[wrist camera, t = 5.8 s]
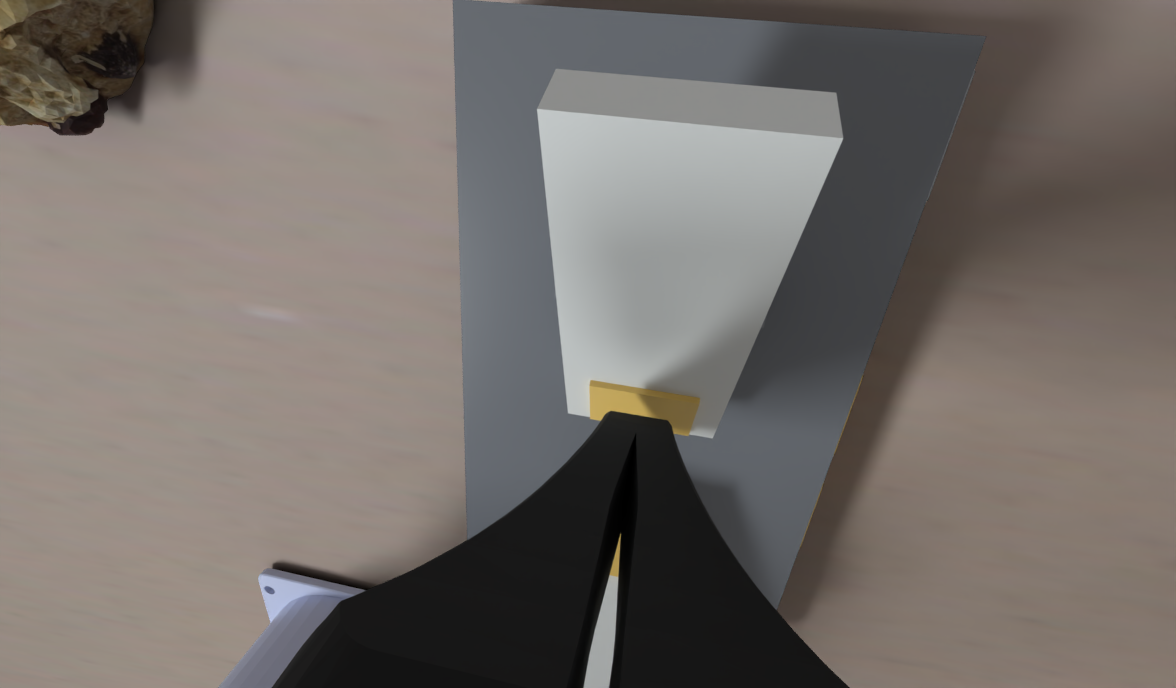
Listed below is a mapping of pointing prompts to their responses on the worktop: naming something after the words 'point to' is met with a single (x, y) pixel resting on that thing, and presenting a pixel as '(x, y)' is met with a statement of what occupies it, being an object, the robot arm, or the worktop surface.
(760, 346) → the switch unit
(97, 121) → the bread roll
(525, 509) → the robot arm
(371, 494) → the worktop surface
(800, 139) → the rocker
